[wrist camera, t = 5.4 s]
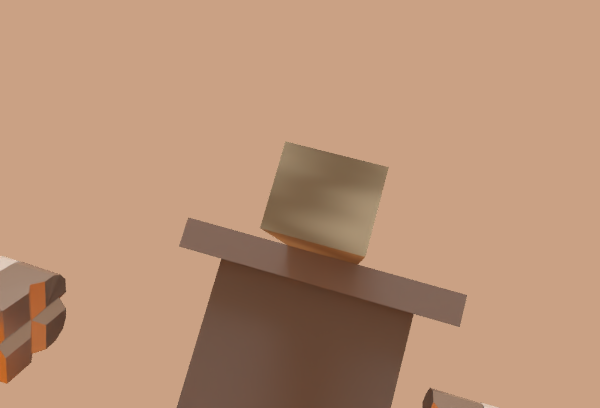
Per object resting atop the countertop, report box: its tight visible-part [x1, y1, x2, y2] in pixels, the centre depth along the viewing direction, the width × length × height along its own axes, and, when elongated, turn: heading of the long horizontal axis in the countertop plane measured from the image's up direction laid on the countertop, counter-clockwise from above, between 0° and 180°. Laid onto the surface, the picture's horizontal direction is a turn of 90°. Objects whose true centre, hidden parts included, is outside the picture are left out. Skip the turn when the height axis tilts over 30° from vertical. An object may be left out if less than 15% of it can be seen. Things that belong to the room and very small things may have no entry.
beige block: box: [261, 142, 388, 265], centre depth 25 cm, size 4×19×3 cm, turn 175°
